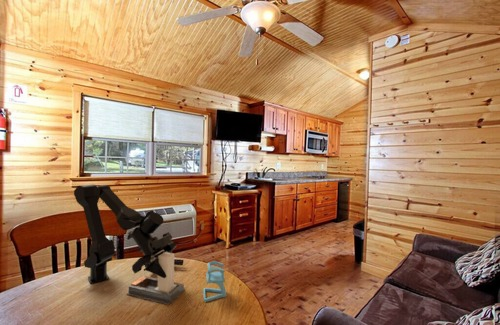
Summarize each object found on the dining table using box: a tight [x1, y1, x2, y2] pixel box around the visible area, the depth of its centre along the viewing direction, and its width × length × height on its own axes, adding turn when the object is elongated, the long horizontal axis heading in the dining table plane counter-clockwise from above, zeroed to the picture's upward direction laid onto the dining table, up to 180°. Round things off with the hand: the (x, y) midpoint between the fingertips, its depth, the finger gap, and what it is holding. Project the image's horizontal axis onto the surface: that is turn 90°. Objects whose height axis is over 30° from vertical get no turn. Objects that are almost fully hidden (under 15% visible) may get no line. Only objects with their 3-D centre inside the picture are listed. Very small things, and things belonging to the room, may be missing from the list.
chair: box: [203, 260, 227, 303], centre depth 89 cm, size 8×8×12 cm
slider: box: [154, 252, 177, 294], centre depth 89 cm, size 6×5×14 cm
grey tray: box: [126, 275, 186, 306], centre depth 90 cm, size 18×10×3 cm, turn 73°
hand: (169, 274), depth 88 cm, fingers closed on slider, 4 cm apart
